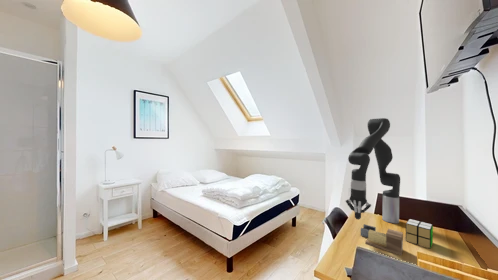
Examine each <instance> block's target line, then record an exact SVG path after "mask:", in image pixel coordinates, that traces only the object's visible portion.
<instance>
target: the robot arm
mask: <svg viewBox="0 0 498 280" xmlns="http://www.w3.org/2000/svg"><path fill="white" fill-rule="evenodd" d="M390 127H391V122H390V120H389V118H385V117H384V118H383V117H382V118H381V117H380V118H370V119H369V120H367V130H368V132H369V135H368V136H366V137H365V138H364V139H363V140H362V141H361V142H360V144H359V145H358V147H356V148H355V149H354V150H352V151H351V152H350V153H349V155H348V159H347V160H348V162H349V163H350V164H351V165H354V166H359V167H358V168H354V169H352V170H351V177H350V178H351V180H350V181H351V182H350V197H349V198H348V199H346V200H345V203H346V205H347V206H348V207H349V209H350V210H351V211H353V212H354V218H355V220H361V218H362V214H364V213H366V211H367V210H369V209H370V208H371V207H372V204H371V203H369V202H368V200H367V171H368V168H369V165H370V162H371V157H370V154H371V153H372V151H374V154H375V155H374V156H375V159H376V162H377V167H378V175H379V180H380V183H381V185H382V186H387V187H392V188H391V189H385V190H383V191H382V215H381V216H382V219H381V220H382V221H384V222H386V223H390V224H399V223H400V191H401V190H400V189H401V188H400V187H401V175H400V174H398V173H392V172H388V171H387V168H388V166H389V165H390V163H391V162H392V160H393V153H392V148H391V147H390V145H389V144H387V143H386V141H385V140H383V139H382V138H384V137H385V135H386V134H387V133H388V132H389V131H390ZM364 206H365V207H364ZM363 207H364V208H363ZM362 208H363V209H362Z"/></svg>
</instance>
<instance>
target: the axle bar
mask: <svg viewBox="0 0 498 280" xmlns="http://www.w3.org/2000/svg"><path fill="white" fill-rule="evenodd" d="M403 240H404V239H402V247H403V246H404V243H403V242H404V241H403ZM368 241H369V242H372V243H375V244H378V245H381V246H384V247H386V233H383V232H380V231H377V230H376V231H373V230H369V232H368Z"/></svg>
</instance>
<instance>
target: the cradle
mask: <svg viewBox="0 0 498 280" xmlns="http://www.w3.org/2000/svg"><path fill="white" fill-rule="evenodd" d="M369 230H373V231H377V228H376V227H375V226H372V225H369V224H363V227H361V228H360V236H361V237H364V238H366V239H367V238H368V232H369Z"/></svg>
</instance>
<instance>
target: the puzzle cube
mask: <svg viewBox="0 0 498 280" xmlns="http://www.w3.org/2000/svg"><path fill="white" fill-rule="evenodd" d="M433 240H434V225H433V224H431V223H427V222H424V221H419V220H415V219H411V218H409V219H408V220H407V222H406V223H405V242H408V243H410V244H412V245H416V246H417V245H418V246H420V247H422V248H426V249H430V250H431V249H432V246H433V243H434V242H433Z"/></svg>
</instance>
